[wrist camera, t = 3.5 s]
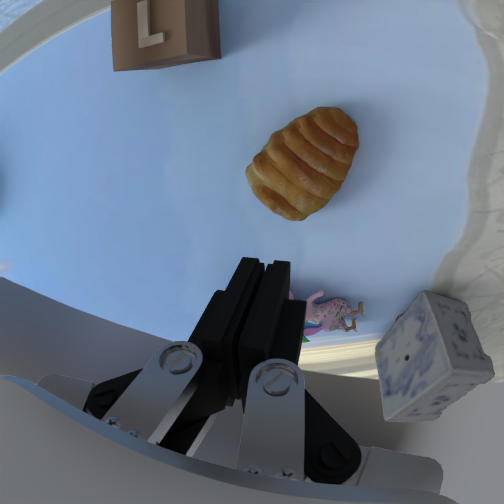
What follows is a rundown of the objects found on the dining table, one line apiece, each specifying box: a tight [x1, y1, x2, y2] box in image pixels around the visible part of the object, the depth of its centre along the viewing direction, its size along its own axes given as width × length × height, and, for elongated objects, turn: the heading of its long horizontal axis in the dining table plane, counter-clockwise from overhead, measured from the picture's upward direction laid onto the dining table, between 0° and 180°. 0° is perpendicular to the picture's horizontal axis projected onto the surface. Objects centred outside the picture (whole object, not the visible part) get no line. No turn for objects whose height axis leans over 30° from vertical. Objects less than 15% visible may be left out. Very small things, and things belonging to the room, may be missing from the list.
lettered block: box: [111, 0, 221, 72], centre depth 16 cm, size 6×6×6 cm
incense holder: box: [375, 290, 495, 422], centre depth 24 cm, size 10×8×10 cm
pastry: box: [245, 107, 359, 221], centre depth 21 cm, size 9×7×4 cm
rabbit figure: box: [289, 290, 364, 342], centre depth 28 cm, size 6×6×15 cm
